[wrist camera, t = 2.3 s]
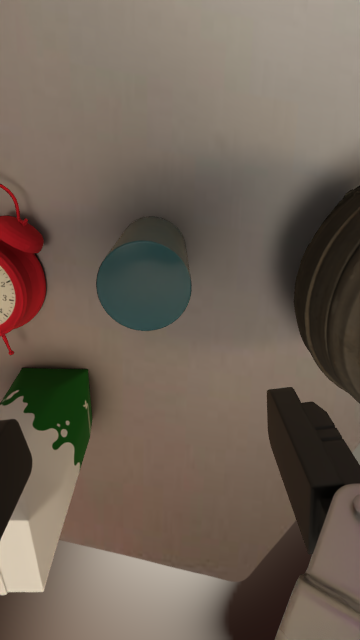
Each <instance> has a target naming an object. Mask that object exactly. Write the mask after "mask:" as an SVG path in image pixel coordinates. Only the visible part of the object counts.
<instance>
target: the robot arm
mask: <svg viewBox="0 0 360 640" xmlns="http://www.w3.org/2000/svg"><path fill="white" fill-rule="evenodd" d="M267 416H268V434H269V440H270V444H271V448H272V451H273V454H274V457H275V460H276V462H277V465H278V468H279V471H280V474H281V477H282V480H283V482H284V485H285V488H286V491H287V494H288V497H289V500H290V503H291V505H292V508H293V511H294V514H295V517H296V520H297V522H298V525H299V528H300V531H301V534H302V537H303V540H304V543H305V545H306V548H307V551H308V554H313V555H312V558H311V560H310V563H309V566H308V569H307V571H306V573H305V574H304V575H303V574H301V575H300V577H299V578H298V580H297V582H296V584H295V587H294V589H293V592H292V595H291V598H290V600H289V603H288V605H287V608H286V611H285V614H284V616H283V619H282V622H281V624H280V627H279V630H278V632H277V635H276V638H275V640H360V465H359V464H358V462H357V460H356V459H355V457H354V456H353V454H352V452H351V451H350V449H349V447H348V446H347V444H346V443H345V441H344V439H342V436H341V435H340V433H339V431H338V430H337V428H335V425H334V423H333V422H332V420H331V418H330V417H329V415H328V414H327V412H326V411H324V410H323V409H322V408H320V407H319V406H318V405H316V404H315V403H314V402H305V403H301V402H300V400H299V398H298V396H297V394H296V392H295V391H294V389H293V388H292V387H287V388H279V389H270V390H268V391H267ZM31 471H32V455H31V452H30V449H29V447H28V445H27V442H26V440H25V437H24V435H23V432H22V430H21V427H20V425H19V423H18V421H17V420H15V419H7V420H0V540H1V538H2V535H3V533H4V531H5V529H6V527H7V525H8V522H9V520H10V518H11V516H12V514H13V511H14V509H15V507H16V505H17V503H18V501H19V498H20V496H21V494H22V492H23V490H24V487H25V485H26V483H27V481H28V479H29V477H30V474H31Z"/></svg>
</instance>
